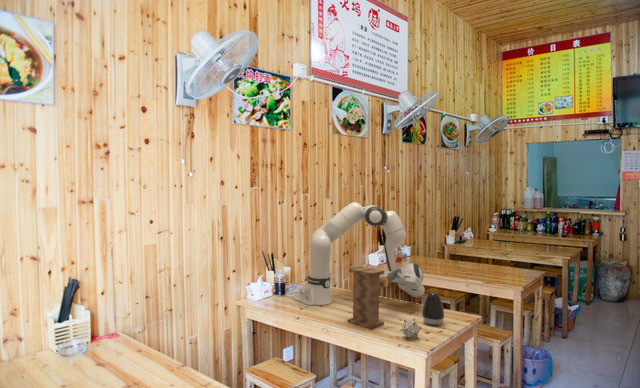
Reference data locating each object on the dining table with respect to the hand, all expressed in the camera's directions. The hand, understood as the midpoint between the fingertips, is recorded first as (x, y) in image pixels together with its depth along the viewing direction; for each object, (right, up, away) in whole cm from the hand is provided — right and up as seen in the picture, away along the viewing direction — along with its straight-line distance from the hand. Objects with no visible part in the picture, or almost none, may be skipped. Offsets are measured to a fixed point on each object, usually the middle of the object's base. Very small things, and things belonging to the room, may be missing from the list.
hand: (394, 273), depth 223 cm
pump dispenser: (+16, -22, -16) cm, 31 cm away
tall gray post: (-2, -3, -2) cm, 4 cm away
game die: (+1, -22, -35) cm, 41 cm away
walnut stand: (-17, -21, -17) cm, 32 cm away
